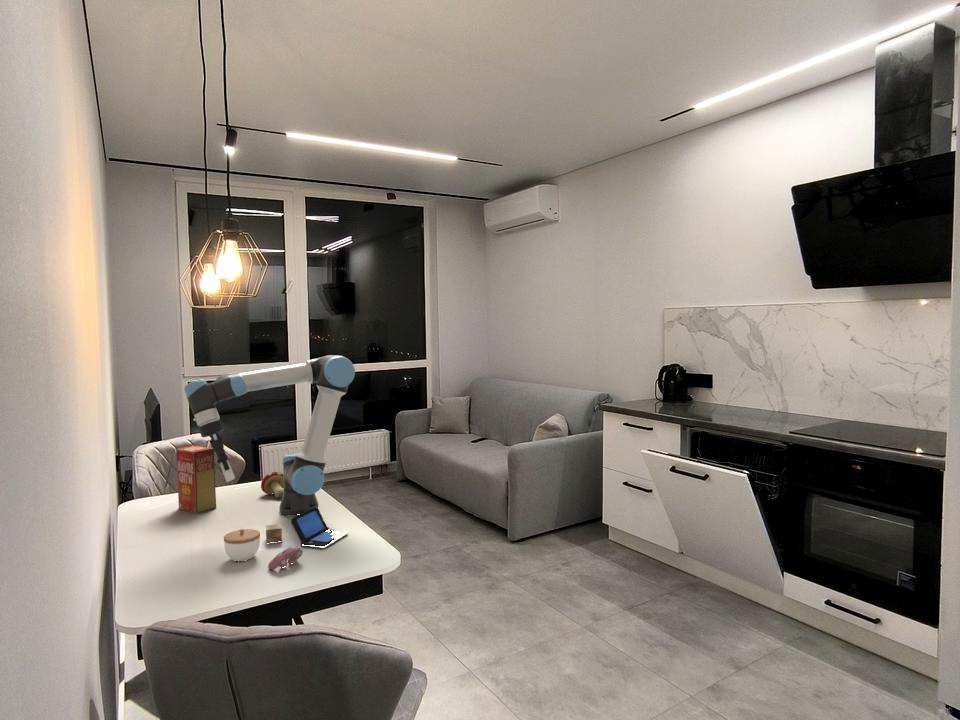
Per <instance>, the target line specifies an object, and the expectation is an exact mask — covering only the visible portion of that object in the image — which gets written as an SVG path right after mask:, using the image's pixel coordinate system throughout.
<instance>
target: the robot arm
mask: <svg viewBox="0 0 960 720" xmlns="http://www.w3.org/2000/svg"><path fill="white" fill-rule="evenodd" d="M355 369H356V368H355V365H354V364H353V362H352V361H351V360H350V359H349V358H347V357H345V356H343V355H334V354H329V355H324V356H321V357H318V358H317V357H316V358H313V359H307V360H306V361H305V362H304V363H297V364H291V365H290V364H289V365H285V366H278V367H270V368H265V369H259V370H258V369H257V370H252V371H245V372H239V373H234V374H233V373H232V374H221V375H219V376H218V377H217V378H216V379H215V380H214V381H213V382H210V383H208V382H207V380H205V379H198V380H197V379H196V380H194V381H191V382H189V383H186V385H185V386H184V390H183V391H184V392H185V395H186V399H187V401H188V404H189V407H190V409H191V412H192V414H193V416H194V418H193V421H194V422H196V425H197V427H198V431H199V433H200V436H201V437H202V438H207V437H210V440H209V444H210V446H211V448H213V450H214V452H215V454H216V456H217V461H216V462H217V464H219V465H220V468H221V471H222V474H223V476H224V478H225V482H226V483H228V482H230V481H234V480H235V479H236V477H235V474H234V472H233V468H232V466H231V464H230V458H229V459H228V455H227V454H226V451H225V446H224V445H225V444H224V442H223V438H222V436H220V435H219V433H221V432H223V431H224V430H225V427H224V426H223V422H222V420H220V419H221V417H220V414H219V412H218V410H217V407H216V404H218V403H222V402H223V401H227V400H230V399H233V398H236V397H240V396H242V395H245V394H247V393H249V392H255V391H260V390H265V389H266V390H267V389H272V388H273V389H274V388H277V387H283V386H290V385H296V384H303V383H309V384H311V385H312V384H316V387H317V390H318V394H317V397H316V400H315V404H314V407H313V410H312V414H311V417H310V420H309V424H308V428H307V431H306V434H305V438H304V441H303V444H302V448H301V451H299V452H298V453H292V454H286V455H284V456H283V458H282V474H283V487H284V488H283V489H284V493H283V497H282V498H281V501H280V504H279V508H278V509H279V514H280V513H281V514H280V515H282V514H284V515H283V516H286V515H297V514H303V513H305V512H307V511H309V510H311V509H313V508H317V509H318V507H319V501H318V499H317V496H316V493H318V492H319V491H320V490H321V489H322V487H323V486H324V483H325V474H324V471H325V467H326V463H327V461H326V458H325V457H324V456H325V453H326V449H327V446H328V442H329V439H330V436H331V433H332V429H333V425H334V422H335V419H336V415H337V411H338V408H339V406H340V405H339V404H340V401H341V398H342V397H343V396H344V395H346V394H347V392H348V388H349V386H350V384H351V383H352V382H353V381H354V379H355V375H356V370H355ZM318 510H319V509H318Z"/></svg>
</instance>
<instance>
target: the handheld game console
mask: <svg viewBox="0 0 960 720" xmlns="http://www.w3.org/2000/svg"><path fill="white" fill-rule="evenodd" d="M290 521H291V522H290V523H291V525H292V527H293V529H294V531H295V533H296V535H297V536H298V539H299V540H300V545H301V544H304V545H315V546H325V545H327V544H329V543H330V542H331V541H332V540H334V538H333V539H332V538H331V537H332V536H333V535H330V534H331V533H332V531H331V530H332V529H330V528H329V526H328V525H327V524H326V522H325V521H324V518H323V516H322V514H321V511H320V510H319V509H317V508H313V509H311V510H309V511H307V512H305V513H303V514H300V515H298V516H293V517H292V518H291V519H290ZM328 529H330V531H331V532H329V533H328V532H325V531H326V530H328Z"/></svg>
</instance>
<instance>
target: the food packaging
mask: <svg viewBox="0 0 960 720" xmlns="http://www.w3.org/2000/svg"><path fill="white" fill-rule="evenodd" d="M175 453H176V454H175V455H176V457H175V458H176V473H177V493H178V494H177V495H178V496H177V497H178V509H177V510H181V509H182V511H185V512H188V511H189V513H192V512H193V514H197V513H198V514H200V513H204V511H205V512H208V511H211V509H212V510H215V509H217V496H216V495H217V493H216V473H215V472H216V470H215V468H216V467H215V464H216V463H215V451H214V450H213V447H208V446H207V447H206V446H202V445H201V446H200V445H199V446H198V445H190V446H185V447H180V448H176V449H175Z"/></svg>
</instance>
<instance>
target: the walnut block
mask: <svg viewBox="0 0 960 720" xmlns="http://www.w3.org/2000/svg"><path fill="white" fill-rule="evenodd" d="M282 535H283V533H282V523H277V524H268V525H265V543H270V542H278V541H282V542H283V539H282V538H283V536H282Z"/></svg>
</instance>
